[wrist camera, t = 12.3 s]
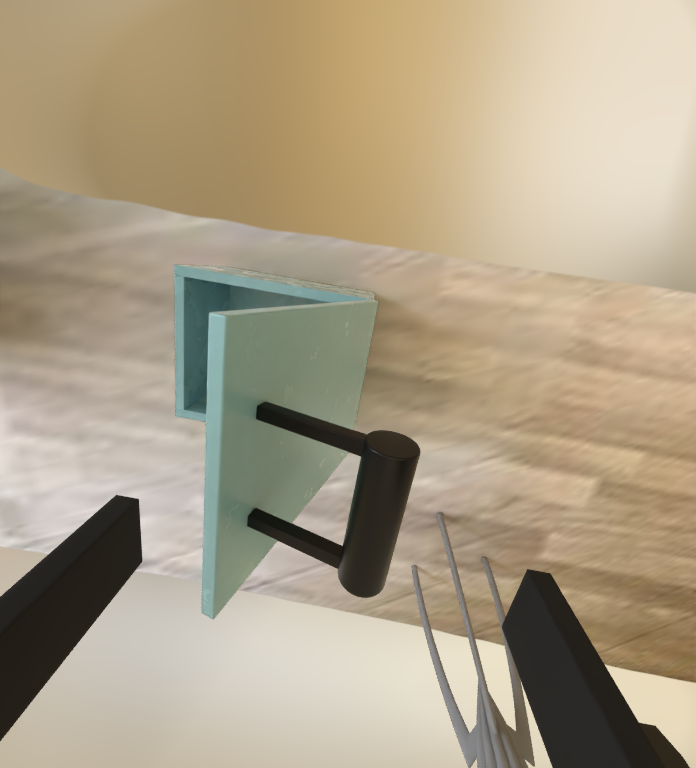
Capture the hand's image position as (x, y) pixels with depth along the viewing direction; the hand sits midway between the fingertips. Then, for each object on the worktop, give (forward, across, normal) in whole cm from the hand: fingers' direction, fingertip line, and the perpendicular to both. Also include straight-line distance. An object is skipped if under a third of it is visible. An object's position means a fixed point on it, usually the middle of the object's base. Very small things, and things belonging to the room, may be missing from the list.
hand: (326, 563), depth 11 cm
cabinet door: (+12, -3, 0) cm, 12 cm away
